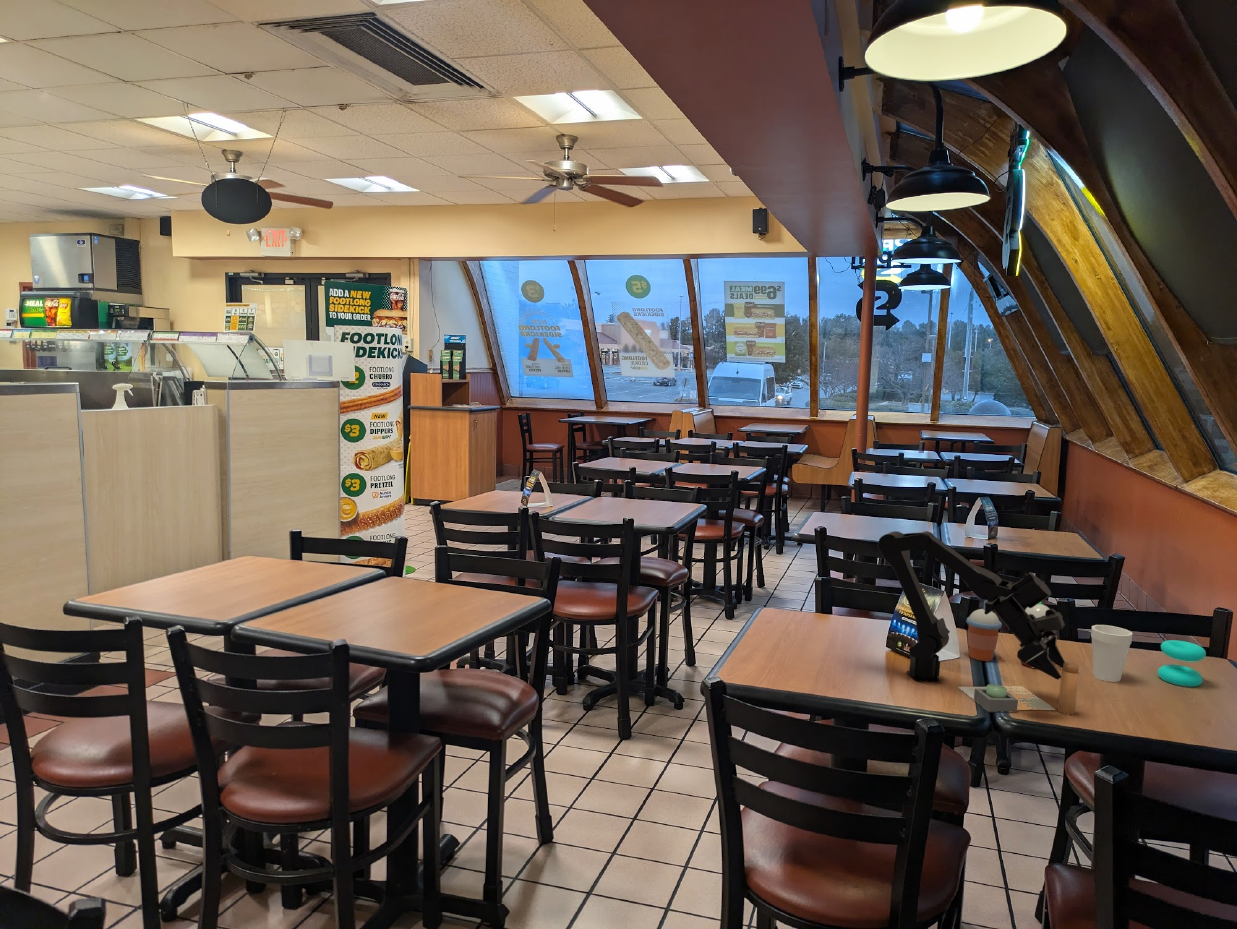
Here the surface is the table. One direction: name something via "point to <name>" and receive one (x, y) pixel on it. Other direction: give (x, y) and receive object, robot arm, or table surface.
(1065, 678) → the tan cylindrical piece
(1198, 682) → the donuts
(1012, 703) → the sheet
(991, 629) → the cup with straw
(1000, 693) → the button
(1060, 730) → the table surface
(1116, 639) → the foam cup
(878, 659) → the table surface
